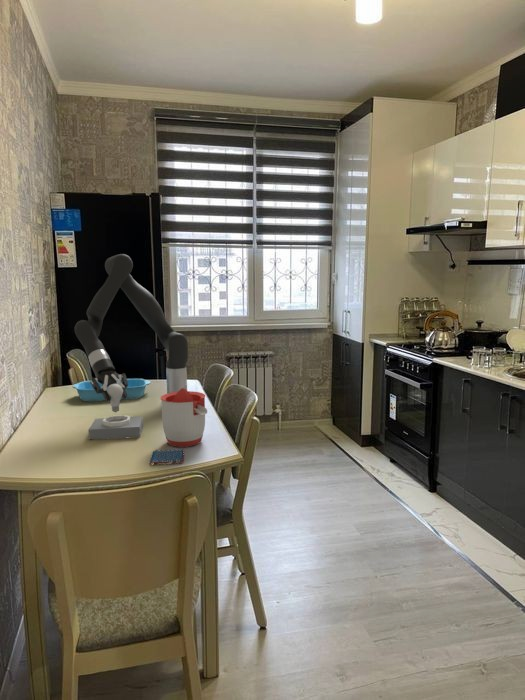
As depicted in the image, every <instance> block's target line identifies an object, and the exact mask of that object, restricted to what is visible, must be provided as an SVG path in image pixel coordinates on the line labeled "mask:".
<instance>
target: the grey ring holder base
mask: <svg viewBox="0 0 525 700" xmlns="http://www.w3.org/2000/svg"><path fill="white" fill-rule="evenodd" d="M143 428H144V418H143V416H129V415H125V414H118V415H117V414H116V415H110V416H107V417H101V418H94V420H93V422H92V424H91V425H89V428H88V440H89V439H101V440H108V439H107V438H119V439H127V438H126V437H137V438H141V435H142V432H141V431H142V430H143Z"/></svg>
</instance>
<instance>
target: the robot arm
mask: <svg viewBox="0 0 525 700" xmlns="http://www.w3.org/2000/svg"><path fill="white" fill-rule="evenodd" d="M133 267H134V263H133V260H132V258H131V257H130V256H129V255H127V254H125V253H120V254H116V255H115V254H114V255H113V256H111V257H108V258H107V259H106V261H105V262H104V268H105V271H106V273H107V274H108V276H107V278H106V280H105V282H104V283H103V285H102V286H101V287H100V288H99V290H98V291H97V292H96V294H95V295H94V296H93V299H92V300H91V302H90V304H89V306H88V308H87V310H86V316H87V319H88V320H86V319H85V320H84V319H81V320H78V321H77V322H76V324H75V326H74V333H75V336H76V338H77V339H78V341H79V342H80V344H81V346H82V347H83V349H84V351H85V354H86V356H87V358H88V360H89V361H88V362H89V364H90V366H91V369H92V371H93V373H94V375H95V377H91V378H90V380H89V381H90V384H91V385H92V387H93V388H94V390H95V391H96V393H97V394H99V393H102V394H103V396H104V398H105V400H106V401H105V402H107V403H111V402H110V400H111V397H110V395H109V394H108V392H107V391H106V390H107V387H108V386H110V385H111V384H116V382H117V384H118V385H120V386H121V387H122V389H123V394H122V397H123V399H126V397H127V392H126V390H125V389H126V388H127V386H128V382H127V379H128V378H127V375H126V373H125V372H123V373H122V374H119V373H117V372H116V368H115V366H114V365H113V361H112V360H111V358H110V355H109V354H108V352H107V351H106V348H105V347H104V344H103V343H102V341H101V340H100V339H99V336H100V334H101V332H102V331H101V330H102V326H103V322H104V321H103V320H104V318H105V316H106V314H107V312H108V310H109V308H110V306H111V303H112V302H113V300H114V298H115V296H116V295H117V293H118V291H119V289H121V290H122V291H123V293H124V294H125V296H126V297H127V298H128V299H129V301H130V302H131V304H132V305H133V306H134V308H135V309H136V310H137V312H138V313H139V315H141V317H142V318H143V319H144V321H146V323H147V324H148V325H149V327H150V328H151V329H152V330H153V331H154V332H155V335H157V337H158V339H159V341H160V343H161V344H162V346H163V348H164V349H165V350H167V351H168V359H167V360H166V362H165V365H166V367H165V368H166V370H165V371H166V375H165V376H166V394H168V393H172V392H178V391H179V390H180V389H181V388H185V389H186V390H187V391H188V373H187V363H188V360H189V342H188V339H187V336H186V335H184V334H182V333H179V332H176V331H175V330H174V328H172V326H171V325H170V323H169V322H168V321H167V319H166V317H165V314H164V311H163V309H162V307H161V305H160V304H159V302H158V301H157V299H156V297H155V296H154V295H153V294H152V293H151V292H150V291H149V290H147V289H146V288H145V287H143V286H142V285H141V284H140V283H138V282H137V281H136V280H135V279H134V278H133V276H132V275H131V273H132V270H133ZM119 379H120V380H121V381H120V380H119ZM98 382H99V383H101V384H102V388H101V387H100V386H99V384H98ZM121 382H122V383H121ZM126 400H127V399H126Z"/></svg>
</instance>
